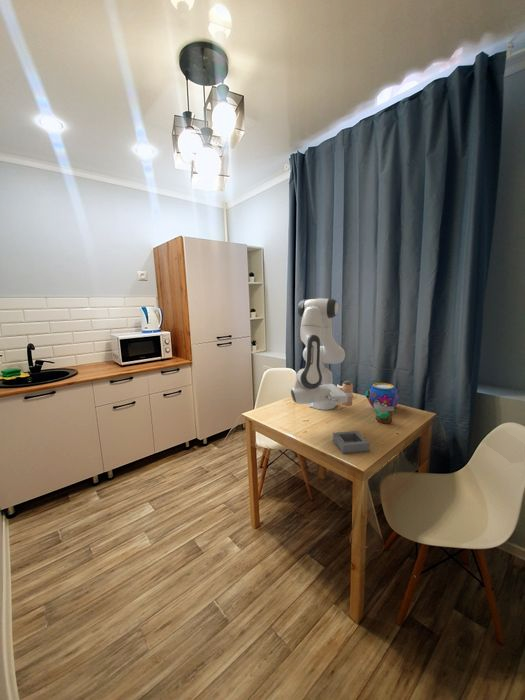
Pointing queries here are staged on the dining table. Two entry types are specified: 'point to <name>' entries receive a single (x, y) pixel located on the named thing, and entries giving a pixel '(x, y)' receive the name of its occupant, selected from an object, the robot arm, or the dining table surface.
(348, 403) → the spice jar
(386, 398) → the ceramic pot
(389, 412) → the food container
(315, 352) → the robot arm
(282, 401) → the dining table surface
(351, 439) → the holder
